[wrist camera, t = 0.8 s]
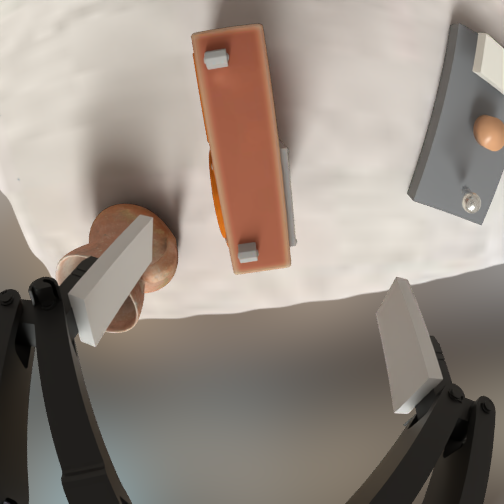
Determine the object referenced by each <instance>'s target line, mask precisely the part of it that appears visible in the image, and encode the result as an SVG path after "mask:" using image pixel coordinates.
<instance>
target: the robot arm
mask: <svg viewBox="0 0 504 504" xmlns="http://www.w3.org/2000/svg"><path fill="white" fill-rule="evenodd" d="M152 238H153V217H149V216H144V215H139V216H138V217H137V218H136V219H135V220H134V221H133V222H132V223H131V224H130V225H129V226H128V227H127V228H126V229H125V230H124V231H123V233H122V234H121V235H120V236H119V237H118V238H117V239H116V240H115V241H114V242H113V243H112V244H111V245H110V246H109V247H108V248H107V250H106V251H105V252H104V253H103V254H102V255H101V256H100V257H99V258H96V257H93V256H90V257H88V258H86V259H85V260H83V261H81V263H80V264H79V265H78V266H77V267H76V269H74V270H73V271H72V272H71V274H69V276H68V277H67V278H66V279H65V280H64V281H63V282H62V283H61V285H60V286H59V285H58V283H57V281H56V280H55V279H54V278H50V277H42V278H39V279H37V280H35V281H34V282H32V284H31V285H30V286H29V290H28V292H29V295H30V298H31V300H22V299H21V297H20V295H19V293H18V292H17V291H16V290H13V289H9V290H5V291H3V292H1V293H0V504H29V486H28V470H27V424H28V422H27V421H28V405H29V393H30V382H31V374H32V366H33V359H34V352H35V347H36V348H37V358H38V366H39V373H40V379H41V386H42V392H43V397H44V402H45V407H46V412H47V417H48V421H49V425H50V430H51V434H52V438H53V441H54V445H55V448H56V452H57V455H58V459H59V462H60V465H61V468H62V477H61V481H62V485H63V489H64V492H65V494H66V497H67V500H68V502H69V504H132V502H131V500H130V499H129V496H128V495H127V493H126V491H125V489H124V488H123V486H122V484H121V482H120V480H119V478H118V475H117V473H116V471H115V469H114V466H113V464H112V461H111V459H110V456H109V454H108V451H107V449H106V446H105V443H104V441H103V438H102V435H101V433H100V430H99V427H98V424H97V421H96V418H95V415H94V412H93V409H92V406H91V402H90V399H89V395H88V392H87V389H86V385H85V382H84V378H83V374H82V370H81V366H80V362H79V357H78V353H77V348H76V344H75V340H74V338H75V336H76V335H77V333H79V336H80V339H81V341H82V342H85V343H87V344H90V345H92V346H95V347H96V345H97V344H98V342H99V340H100V339H101V337H102V336H103V334H104V332H105V331H106V329H107V328H108V326H109V324H110V323H111V321H112V320H113V318H114V317H115V315H116V314H117V312H118V310H119V309H120V307H121V306H122V304H123V303H124V301H125V300H126V298H127V297H128V295H129V294H130V292H131V291H132V289H133V288H134V286H135V285H136V283H137V282H138V280H139V279H140V277H141V276H142V275H143V273H144V272H145V270H146V269H147V267H148V266H149V264H150V263H151V262H152ZM376 318H377V322H378V327H379V331H380V336H381V341H382V346H383V351H384V356H385V360H386V365H387V372H388V377H389V383H390V389H391V395H392V402H393V409H394V413H403V414H408V413H409V412H410V411H411V410H412V409H413V408H414V407H415V408H416V414H415V415H414V416H413V417H412V418H411V419H409V420H408V421H407V422H406V423H405V424H404V426H406V425H407V424H408V425H407V426H406V428H405V429H404V431H403V432H402V434H401V435H400V436H399V438H398V439H397V441H396V442H395V444H394V445H393V446H392V448H391V449H390V450H389V452H388V453H387V455H386V456H385V457H384V458H383V460H382V461H381V462H380V464H379V465H378V466H377V467H376V469H375V470H374V471H373V472H372V474H371V475H370V476H369V477H368V479H367V480H366V481H365V482H364V483H363V485H362V486H361V487H360V488H359V489H358V490H357V491H356V493H355V494H354V495H353V496H352V497H351V498H350V499H349V500H348V502H346V504H412V502H413V501H414V499H415V498H416V496H417V494H418V493H419V491H420V490H421V488H422V487H423V485H424V483H425V482H426V480H427V478H428V477H429V475H430V473H431V471H432V470H433V473H432V476H431V479H430V482H429V485H428V488H427V491H426V494H425V498H424V500H423V503H422V504H483V502H484V497H485V493H486V488H487V482H488V477H489V471H490V465H491V458H492V449H493V440H494V428H495V406H494V404H493V402H492V401H491V400H490V399H489V398H488V397H485V396H481V397H479V399H477V400H476V401H472V400H470V399H467V398H465V395H464V393H463V391H462V389H461V388H460V387H459V386H457V385H456V384H452V381H451V378H450V375H449V372H448V368H447V365H446V362H445V361H444V356H443V354H442V350H441V347H440V344H439V343H438V342H437V340H436V339H435V337H434V336H429V333H428V331H427V328H426V325H425V322H424V320H423V317H422V314H421V312H420V309H419V306H418V304H417V301H416V299H415V296H414V294H413V291H412V289H411V286H410V284H409V281H408V280H407V279H403V278H399V277H396V278H395V280H394V282H393V284H392V286H391V288H390V289H389V291H388V293H387V295H386V297H385V298H384V300H383V302H382V304H381V305H380V307H379V309H378V311H377V312H376ZM433 468H434V469H433Z"/></svg>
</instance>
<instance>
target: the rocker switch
mask: <svg viewBox="0 0 504 504" xmlns="http://www.w3.org/2000/svg"><path fill="white" fill-rule="evenodd" d="M472 71H473V72H474V73H476V74H477V75H479V76H480V77H481V78H483V79H484V80H485V81H487V82H488V83H489V84H491V85H492V86H493V87H495V88H496V89H497V90H498V91H500V92H501V93H502V94H503V95H504V48H503V47H501V46H500V45H499V44H498V43H497V42H496V41H495V40H494V39H492V38H491V37H490V36H489V35H488V34H487V33H479V32H478V40H477V47H476V53H475V59H474V65H473V70H472Z"/></svg>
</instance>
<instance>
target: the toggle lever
mask: <svg viewBox="0 0 504 504" xmlns="http://www.w3.org/2000/svg"><path fill="white" fill-rule="evenodd" d="M461 191H462V194H463V198H462V206H463V208H464V209H465V211H467V212H468V213H475V212H477V211H478V210H479V209H480V206H481V200H480V197H479V196H478V195H477V194H476V193H474V192H471V190H470V188H469V187H468V186H467V185H464V186H463V187H462V189H461Z"/></svg>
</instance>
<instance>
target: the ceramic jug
mask: <svg viewBox="0 0 504 504" xmlns="http://www.w3.org/2000/svg"><path fill="white" fill-rule="evenodd" d="M139 215H144V216H149V217H153V238H152V262H151V263H150V264H149V266H148V267H147V269H146V270H145V272H144V273H143V275H142V276H141V277H140V279H139V280H138V282H137V283H136V285H135V286H134V288H133V289H132V291H131V292H130V294H129V295H128V297H127V298H126V300H125V301H124V303H123V304H122V306H121V307H120V309H119V310H118V312H117V314H116V315H115V317H114V318H113V320H112V321H111V323H110V324H109V326H108V328H107V329H106V331H107V332H112V333H120V332H125V331H128V330H130V329H132V328H133V327H134V326H135V325H136V323H137V321H138V319H139V316H140V313H141V310H142V306H143V301H144V293H149V292H154V291H157V290H159V289H161V288H162V287H164V286H165V285H166V284H168V283H169V282H170V280H171V279H172V278H173V276H174V274H175V271H176V268H177V264H178V250H177V244H176V238H175V237H174V236H173V234H172V232H171V231H170V229H169V228H168V227H167V225H166V224H165V223H164V222H163V221H162V220H161V219H160V218H159V217H158V216H157V215H156V214H154V213H153V212H151V211H150V210H148V209H146V208H144V207H141V206H138V205H134V204H117V205H113V206H110V207H108V208H106V209H104V210H103V211H102V212H101V213H100V214H99V215H98V216H97V217H96V219H95V220H94V222H93V224H92V226H91V230H90V234H89V244H86V245H84V246H81V247H79V248H77V249H75V250H73V251H71V252H69V253H68V254H66V255H65V256H64V257H63V258H62V259H61V260H60V261H59V263H58V265H57V268H56V281H57V283H58V285H59V286H60V285H61V283H62V282H63V281H64V280H65V279H66V278H67V277H68V276H69V274H71V272H72V271H73V270H74V269H76V267H77V266H78V265H79V264H80V263H81V261H83V260H85V259H86V258H88V257H90V256H93V257H96V258H99V257H100V256H101V255H102V254H103V253H104V252H105V251H106V250H107V248H108V247H109V246H110V245H111V244H112V243H113V242H114V241H115V240H116V239H117V238H118V237H119V236H120V235H121V234H122V233H123V231H124V230H125V229H126V228H127V227H128V226H129V225H130V224H131V223H132V222H133V221H134V220H135V219H136V218H137V217H138V216H139Z"/></svg>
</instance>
